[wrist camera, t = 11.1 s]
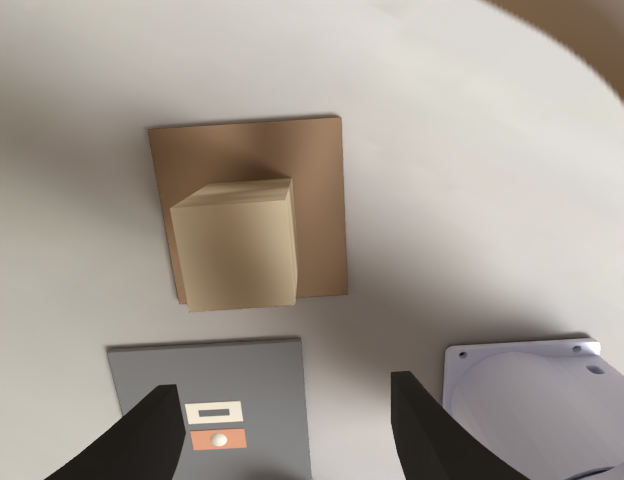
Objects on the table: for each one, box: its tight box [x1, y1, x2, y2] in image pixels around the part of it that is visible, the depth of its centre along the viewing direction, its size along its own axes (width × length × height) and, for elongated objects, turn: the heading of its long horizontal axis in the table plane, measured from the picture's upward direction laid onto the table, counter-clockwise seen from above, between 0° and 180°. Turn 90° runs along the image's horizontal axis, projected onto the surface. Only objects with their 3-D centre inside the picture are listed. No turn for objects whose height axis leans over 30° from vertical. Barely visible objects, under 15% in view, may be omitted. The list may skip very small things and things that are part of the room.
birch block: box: [170, 178, 299, 312], centre depth 18 cm, size 4×4×6 cm
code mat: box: [107, 338, 312, 480], centre depth 25 cm, size 12×12×1 cm
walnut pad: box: [148, 117, 348, 304], centre depth 21 cm, size 10×10×1 cm
